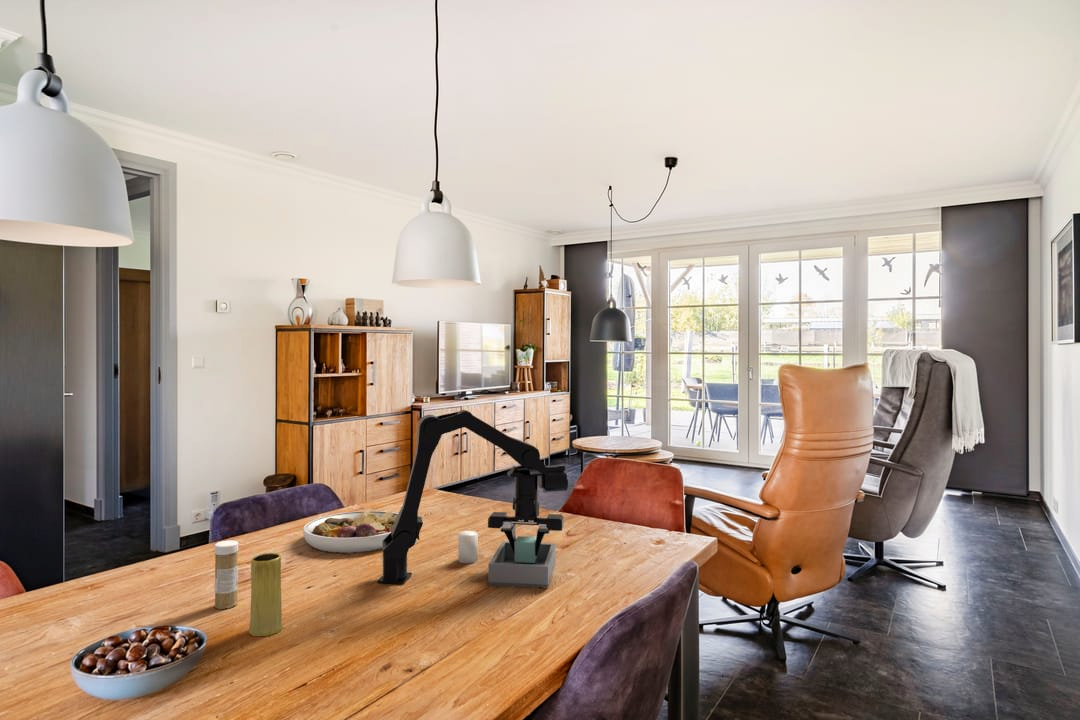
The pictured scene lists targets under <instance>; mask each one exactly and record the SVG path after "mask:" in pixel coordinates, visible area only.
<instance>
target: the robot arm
mask: <svg viewBox="0 0 1080 720" xmlns="http://www.w3.org/2000/svg"><path fill="white" fill-rule="evenodd" d="M462 428H466V429H467V430H469V431H470V432H472V433H474V434H476V435H478V436H479V437H481V438H482V439H484V440H486V441H487V442H489V443H490V444H492V445H494V446H496V447H498V448H499V449H501V450H502V451H503V452H504V453H506V455H508V456H509V457H510V458H512V459H513V461H515V462H516V463H517V464H519V465H520V466H521V467H523V468H517V466H515V465H513V466H512V467H511V469H510V470H508V471H507V473H506V474H507V475H508V476H509V477H510V478H514V497H513V500H512V510H513V511H514V516H508V513H507V512H506V511H505V512H504V511H493V512H492V513H491V514H490V515H489V516H488V518H487V528H489V529H500V532H501V533H504V534H505V536H506V538H507V540H508V542H510V545H511V547H512V550H513V552H514V555H515V540H516V539H517V536H516V535H517V534H516V525H521V526H538V529H537V531H536V537H537V538H536V547H535V556H537V554H538V551H539V548H540V545H541V543H542V541H543V539H544V537H545V535H548V534H550V531H554V532H555V531H556V532H561V531H563V529H564V525H565V523H564V522H565V519H564V515H562V514H557V513H556V514H554V513H548V515H547V517H539V515H540V502H539V501H538V498H539V497H538V496H539V495H538V494H539V491H538V490H540V489H541V490H542V491H543V493H544V494H545V493H565V492H567V491H568V487H569V479H568V475H567V471H566V466H565V465H563V464H557V465H546V464H545V463H543V461H542V459H541V455H540V451H539V449H538V448H537V447H536V446H534V445H532V444H530V443H528V442H526V441H523V440H521V439H517V438H514V437H511V436H509V435H507V434H505V433H503V432H502V431H500V430H498V429H497V428H495V427H494V426H492V425H490V424H488V423H487V422H485V421H483V420H481V419H480V418H478V417H477V416H475V415H473V413H471V412H470V411H469V410H467V409H462V410H459V411H455V412H450V413H445V414H440V415H437V416H436V415H434V414H426V415H423V416H422V417H421V418H420V419H419V420H418V422H417V431H416V450H415V451H416V452H415V455H414V458H413V463H412V468H411V470H410V471H411V472H410V475H409V478H408V479H409V480H408V483H407V488H406V491H405V494H404V499H403V502H402V506H401V508H400V510H399V512H397V513H398V515H397V517H396V519H395V522H394V524H393V526H392V529H391V533H390V534H389V535H388V536H387V537H386V538H385V539H384V540H383V541H382V544H383V548H382V575H381V576H380V577H379V578H378V579H377V581H376V582H377V583H379V584H397V585H398V584H399V585H403V584H405V583H406V582H407V581H408V580H409V579H410V578H411V576H412V575H413V573H412V572H409V571H408V552H409V549H411V548H412V547H414V546H415V544H416V542H417V540H418V541H419V540H420V532H421V529H422V528H423V524H424V522H423V518H422V516H419V508H420V504H421V500H422V497H423V492H424V489H425V484H426V480H427V476H428V472H429V468H430V464H431V460H432V457H433V454H434V452H435V450H436V448H437V447H438V446H439V443H440V440H441V438H442V436H443V435H444V434H448V433H451V432H454V431H457V430H459V429H462ZM530 469H534V470H535V471H531V470H530ZM538 488H539V489H538Z"/></svg>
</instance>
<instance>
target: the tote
mask: <svg viewBox="0 0 1080 720" xmlns="http://www.w3.org/2000/svg"><path fill="white" fill-rule="evenodd" d="M556 545H557V544H556V543H554V542H553V543H551V542H541V545H540V548H539V551H538V554H537V558H536V560H535V563H526V562H515V555H514V552H513V550H512V547H511V545H510V542H509V541H505V540H504V541H501V543H500V545H499V546H498V548H497V549H496V550H495V551H496V552H494V554H493V556H492V557H491V559H490V561H489V562H488V567H487V569H488V574H487V575H488V578H487V579H488V586H489V587H490V586H492V587H493V586H494V587H495V586H496V587H510V586H519V587H518V588H530V587H548V586H550V583H551V580H550V579H552V577H551V576H553V573H554V570H553V569H555V566H556V563H557V562H556V561H557V560H556V557H557V556H556V554H557V553H556ZM555 562H556V563H555ZM554 565H555V566H554ZM552 572H553V573H552ZM549 582H550V583H549ZM548 588H549V587H548Z"/></svg>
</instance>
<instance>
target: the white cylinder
mask: <svg viewBox="0 0 1080 720" xmlns="http://www.w3.org/2000/svg"><path fill="white" fill-rule="evenodd" d="M457 535H458V537H457V538H458V541H457V542H458V543H457V545H458V548H457V549H458V551H457V553H458V559H457V561H458V562H459V563H461V564H473V563H476V562H477V561H478V556H479V555H478V545H479V543H478V541H479V540H478V539H479V538H478V532H477V531H475V530H465V531H460V532H458V534H457Z"/></svg>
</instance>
